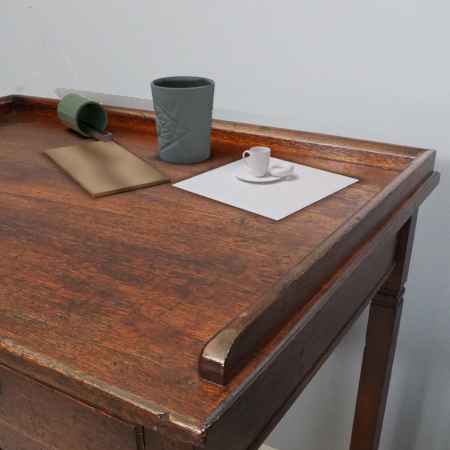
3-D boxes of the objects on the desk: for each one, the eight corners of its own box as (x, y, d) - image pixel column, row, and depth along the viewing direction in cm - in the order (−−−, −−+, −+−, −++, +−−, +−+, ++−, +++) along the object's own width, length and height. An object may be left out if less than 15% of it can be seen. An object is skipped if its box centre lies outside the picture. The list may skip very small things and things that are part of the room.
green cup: (59, 130, 118) (77, 140, 112) (54, 95, 114) (72, 104, 109) (90, 124, 121) (109, 133, 115) (86, 91, 118) (105, 98, 112)
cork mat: (94, 197, 88) (93, 193, 87) (44, 153, 105) (43, 150, 105) (169, 182, 93) (169, 178, 93) (110, 142, 111) (109, 139, 110)
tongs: (73, 126, 118) (103, 142, 109) (72, 120, 117) (103, 135, 108) (82, 124, 119) (113, 140, 110) (81, 118, 118) (113, 133, 109)
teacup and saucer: (300, 175, 95) (302, 149, 92) (268, 189, 90) (268, 162, 87) (256, 163, 100) (256, 138, 98) (223, 176, 95) (223, 150, 92)
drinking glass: (143, 159, 102) (137, 84, 96) (176, 143, 110) (173, 72, 104) (196, 168, 98) (193, 90, 92) (226, 151, 105) (226, 78, 99)
